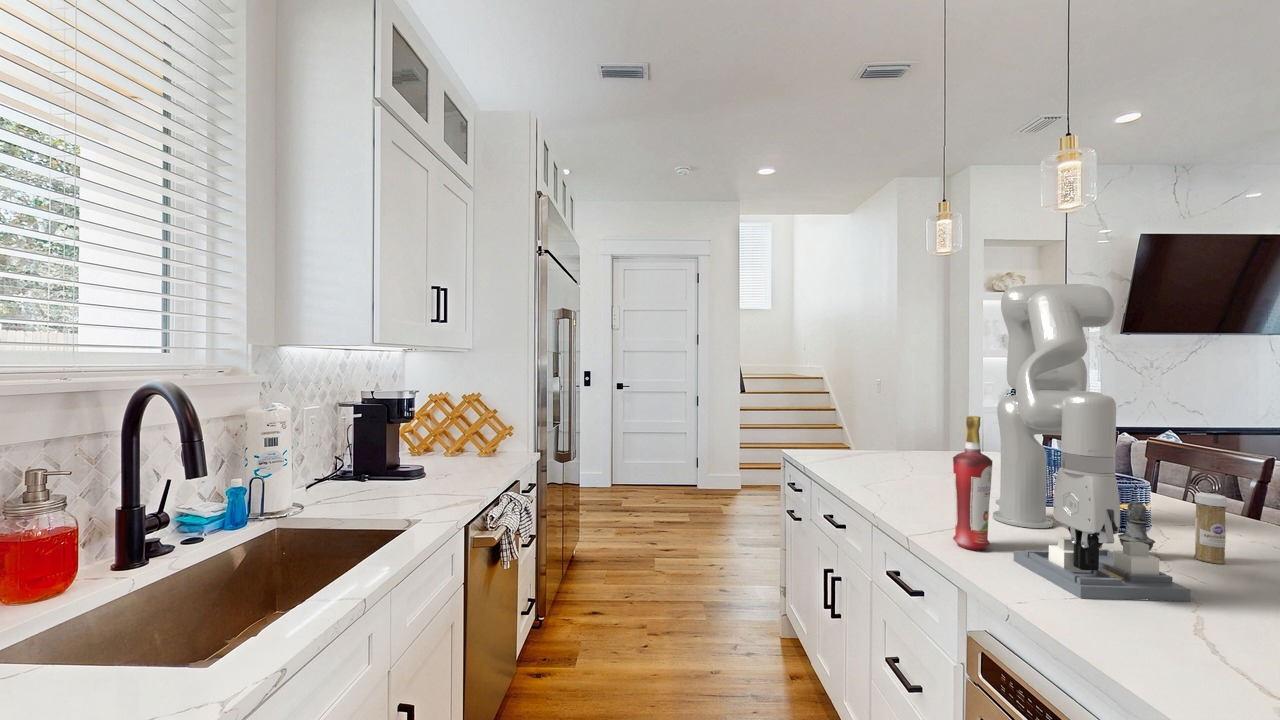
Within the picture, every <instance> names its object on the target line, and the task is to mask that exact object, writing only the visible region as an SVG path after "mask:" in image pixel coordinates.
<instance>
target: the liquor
mask: <svg viewBox="0 0 1280 720" xmlns="http://www.w3.org/2000/svg"><path fill="white" fill-rule="evenodd" d="M965 427H966V436H965V443H964V451H962V452H959V453H957V454H956V455H954V456H953V457H952V461H953V462H952V463H953V465H952V466H953V469H952V471H953V489H954V490H953V491H954V492H953V493H954V515H955V516H954V517H955V519H954V523H955V525H954V526H955V528H954V529H955V530H954V531H955V534H954V535H953V536H952V539H953V541H954V542H955V543H956V544H957V545H958V546H959V548H963V549H965V550H968V551H969V550H970V551H983V550H985V549H986V548H987V547H989V546H990V545H991V543H990V541H989V539H988V536H989V515H990V502H991V501H990V500H991V490H992V474H993V473H992V472H993V460H992V459H991V458H990V457H989V456H987V455H985V454H983V453H982V452H981V441H980V427H981V416H977V415H966V416H965Z"/></svg>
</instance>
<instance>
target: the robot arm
mask: <svg viewBox="0 0 1280 720" xmlns="http://www.w3.org/2000/svg"><path fill="white" fill-rule="evenodd" d="M1000 301H1001V302H1000V309H1001V315H1002V318H1003V322H1004V324H1005V326H1006V329H1007V333H1008V341H1007V342H1008V344H1007V356H1006V357H1007V360H1006V381H1007V384H1008V386H1009V387H1010V388H1011V389H1014V390H1016V391H1015V392H1016V395H1015V394H1014V395H1009V396H1005V397H1003V398H1002V399H1000V400H999V402H998V403H997V407H996V409H997V411H996V415H997V419H998V420H997V421H998V426H999V436H1000V487H999V488H1000V489H999V493H1000V494H999V497H1000V498H999V499H996V500H995V504H996V505H998V509H999V510H996V511H993V512H992V518H993V519H994V520H995V521H997V522H1000V523H1003V524H1008V525H1012V526H1014V527H1015V526H1016V527H1020V528H1021V527H1023V528H1030V529H1048V528H1049V527H1050V528H1052V527H1053V526H1054V520H1053V519H1052V518H1050V517H1047V516H1046V515H1047V514H1046V512H1047V511H1046V509H1047V465H1048V464H1047V453H1046V450H1045V448H1044V446H1043V445H1042V443H1040V442H1039V441H1038V440H1037V438H1036V437H1035V435H1045V436H1046V435H1049V436H1052V435H1053V436H1061V441H1060V442H1061V443H1060V444H1061V448H1060V449H1061V450H1060V451H1061V452H1060V467H1059V468H1058V471H1057V474H1056V478H1055V484H1054V492H1053V502H1052V503H1053V507H1052V515H1053V518H1054V519H1055V520H1056V522H1058V523H1059V524H1061V525H1062V527H1064V528H1065V529H1067V530H1068V532H1069V534H1070V537H1071V541H1072V543H1073V544H1074V559H1073V565H1074V566H1075V567H1077V568H1079V569H1081V570H1098V569H1099V549H1103V544H1115V537H1114V535H1117V534H1118V533H1119V532H1120V531H1119V530H1120V526H1121V507H1120V506H1121V505H1120V494H1119V487H1118V481H1117V477H1116V451H1117V450H1116V447H1117V444H1116V443H1117V442H1116V439H1117V438H1116V437H1117V403H1116V401H1115V399H1114V398H1113V397H1112V396H1109V395H1106V394H1102V393H1101V392H1096V391H1087V384H1088V370H1087V364H1086V362H1085V360H1084V359H1083V357H1084V356H1085V355H1086V353H1087V351H1088V343H1087V340H1086V335H1085V332H1084V328H1102V327H1106V326H1107V325H1109V324H1110V323H1111V322H1112V320H1113V318H1114V315H1115V303H1114V299H1113V297H1112V295H1111V293H1110V292H1109V291H1108V290H1107V289H1106V288H1104V287H1102V286H1099V285H1093V284H1090V283H1089V284H1088V283H1064V284H1063V283H1061V284H1060V283H1059V284H1029V285H1028V284H1027V285H1017V286H1013V287H1010V288H1008V289H1006V290H1005V291H1004V292H1003V293H1002V295H1001V300H1000Z"/></svg>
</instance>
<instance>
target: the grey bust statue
mask: <svg viewBox="0 0 1280 720" xmlns="http://www.w3.org/2000/svg"><path fill="white" fill-rule="evenodd" d="M1146 515H1147V507H1146V505H1145V504H1143V503H1141V502H1139V498H1138V497H1136V498H1135V499H1134V501H1133V502H1129V503H1128V504H1127V517H1125V518H1124V520H1125V521H1126V529H1125V532H1124V533H1119V534H1118V535H1117V537H1118V538H1119V543H1120V544H1121V546H1122V547H1123V542H1142V543H1145V544H1147V545H1149V552H1150V551H1151V550H1152V548H1154V544H1155V543H1156V540H1154V539H1152V538H1150V537H1149V536H1148V534H1147V523H1149V521H1148V520H1147V519H1146ZM1121 551H1123V549H1122V550H1121Z"/></svg>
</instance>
